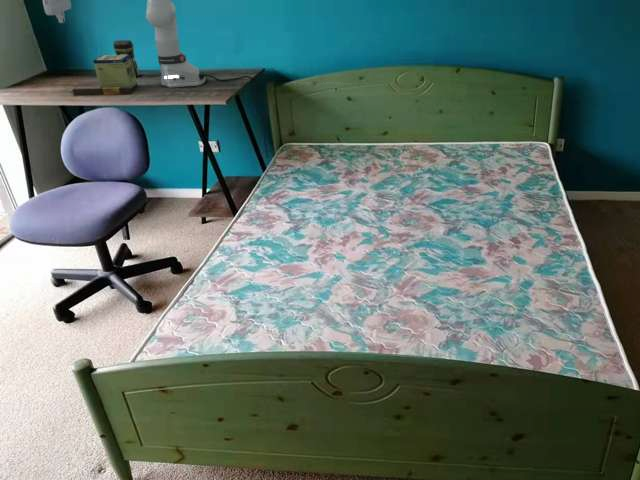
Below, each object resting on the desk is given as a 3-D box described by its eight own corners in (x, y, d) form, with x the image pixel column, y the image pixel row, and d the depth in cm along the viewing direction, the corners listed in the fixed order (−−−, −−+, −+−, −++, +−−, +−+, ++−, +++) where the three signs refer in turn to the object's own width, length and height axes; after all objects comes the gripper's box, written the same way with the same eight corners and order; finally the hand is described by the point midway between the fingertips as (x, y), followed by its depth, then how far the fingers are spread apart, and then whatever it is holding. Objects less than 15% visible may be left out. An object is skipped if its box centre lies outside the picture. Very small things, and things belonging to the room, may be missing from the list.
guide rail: (131, 93, 296) (130, 86, 294) (130, 94, 294) (128, 88, 293) (75, 94, 297) (74, 88, 295) (74, 95, 295) (72, 89, 293)
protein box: (131, 91, 298) (123, 59, 290) (100, 92, 298) (92, 60, 290) (138, 85, 307) (131, 54, 299) (108, 86, 307) (100, 55, 299)
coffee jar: (119, 78, 320) (109, 42, 310) (124, 74, 327) (115, 39, 316) (137, 78, 320) (128, 41, 310) (141, 74, 327) (133, 38, 316)
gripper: (49, -6, 274) (58, 26, 282) (69, -12, 292) (77, 18, 299) (36, -6, 275) (45, 26, 282) (56, -12, 292) (65, 18, 299)
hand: (62, 22), depth 291 cm, fingers closed
